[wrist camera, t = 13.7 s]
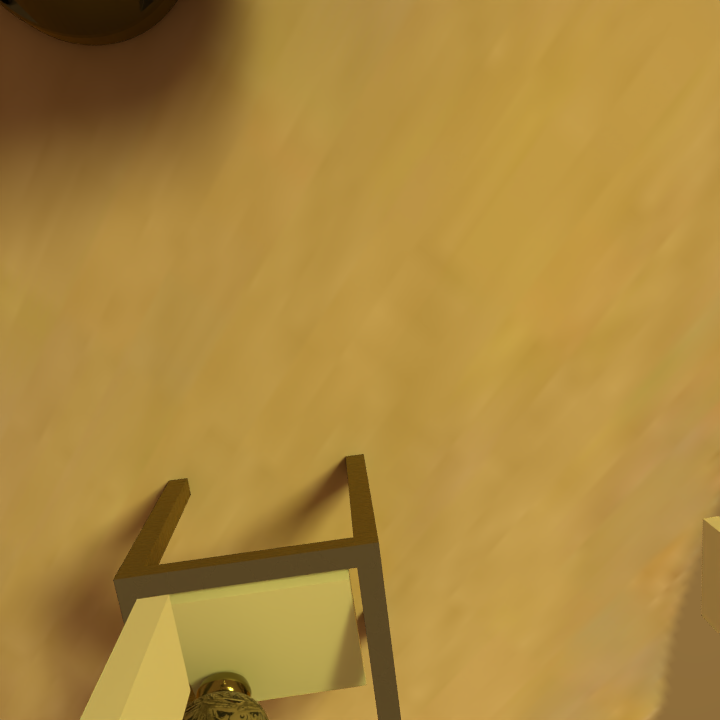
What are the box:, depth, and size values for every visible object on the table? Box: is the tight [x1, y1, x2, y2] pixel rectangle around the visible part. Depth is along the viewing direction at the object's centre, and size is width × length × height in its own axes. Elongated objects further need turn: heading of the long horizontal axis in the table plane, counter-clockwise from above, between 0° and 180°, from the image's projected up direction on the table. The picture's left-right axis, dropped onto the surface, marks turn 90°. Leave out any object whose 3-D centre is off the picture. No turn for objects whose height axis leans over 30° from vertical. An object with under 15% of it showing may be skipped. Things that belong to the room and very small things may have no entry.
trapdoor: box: [160, 569, 366, 701], centre depth 42 cm, size 12×12×1 cm
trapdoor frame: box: [113, 454, 401, 720], centre depth 46 cm, size 16×16×14 cm
